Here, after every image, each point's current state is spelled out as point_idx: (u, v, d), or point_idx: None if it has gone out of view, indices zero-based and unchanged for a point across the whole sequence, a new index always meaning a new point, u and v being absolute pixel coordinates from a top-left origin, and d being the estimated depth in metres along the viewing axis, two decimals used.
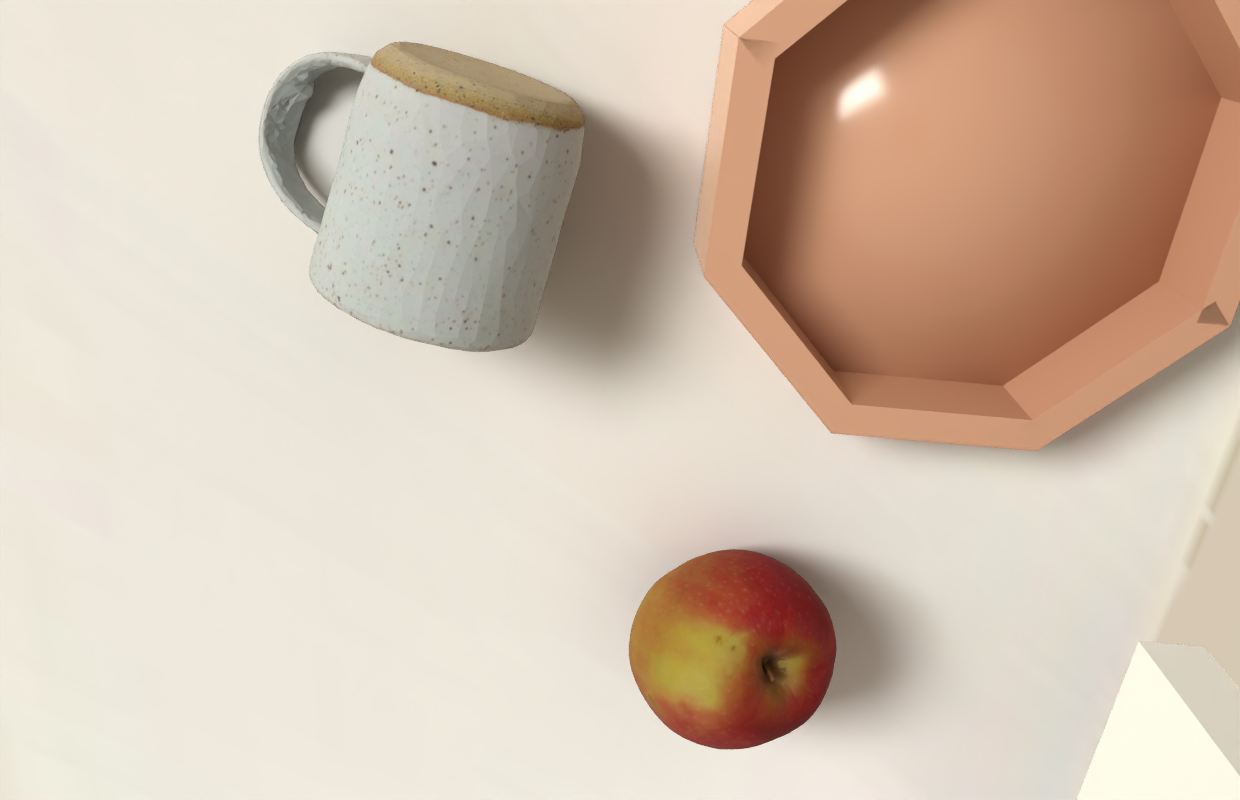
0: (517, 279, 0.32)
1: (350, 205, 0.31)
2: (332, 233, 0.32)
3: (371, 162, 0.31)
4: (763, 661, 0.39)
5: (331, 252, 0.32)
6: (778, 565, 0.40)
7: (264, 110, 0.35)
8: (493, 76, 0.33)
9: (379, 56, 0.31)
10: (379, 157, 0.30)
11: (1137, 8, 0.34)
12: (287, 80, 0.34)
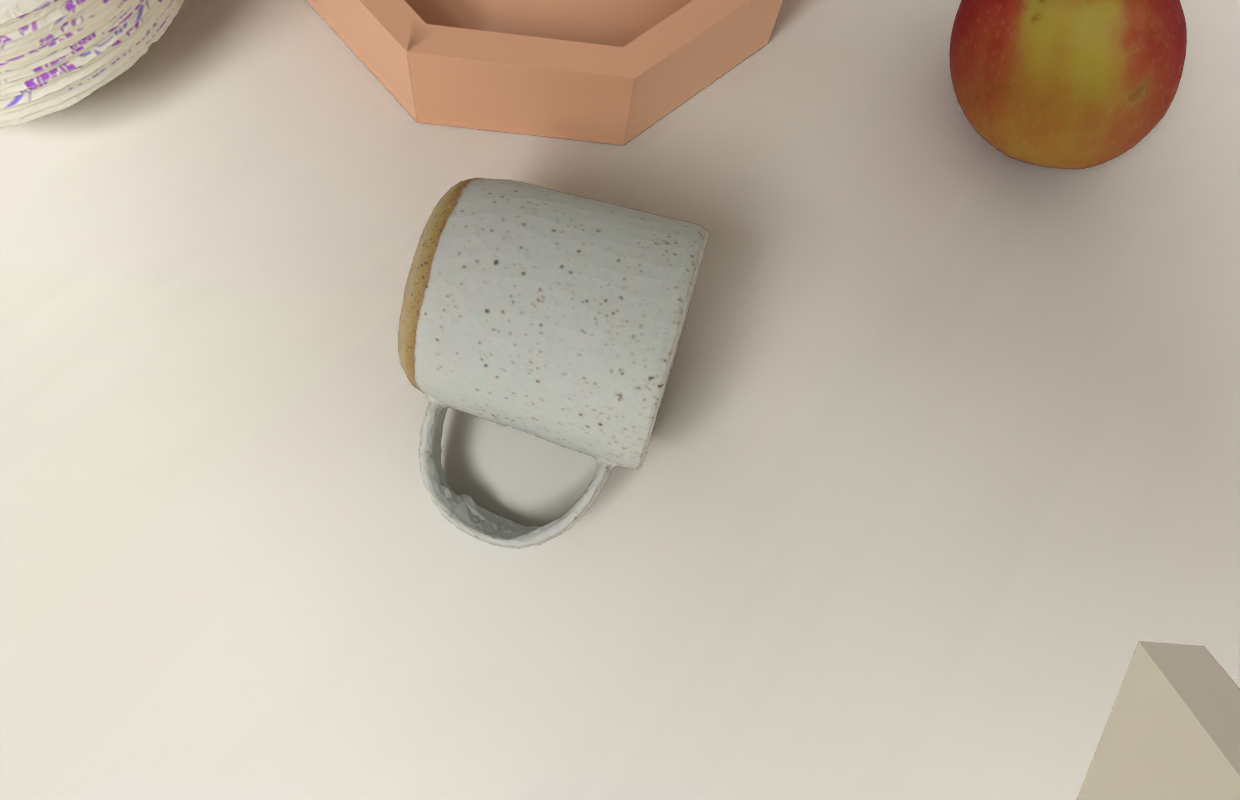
0: (626, 211, 0.31)
1: (549, 369, 0.29)
2: (584, 396, 0.29)
3: (500, 338, 0.29)
4: None
5: (603, 395, 0.29)
6: (955, 18, 0.38)
7: (481, 537, 0.32)
8: None
9: (405, 355, 0.30)
10: (494, 328, 0.29)
11: None
12: (450, 508, 0.32)
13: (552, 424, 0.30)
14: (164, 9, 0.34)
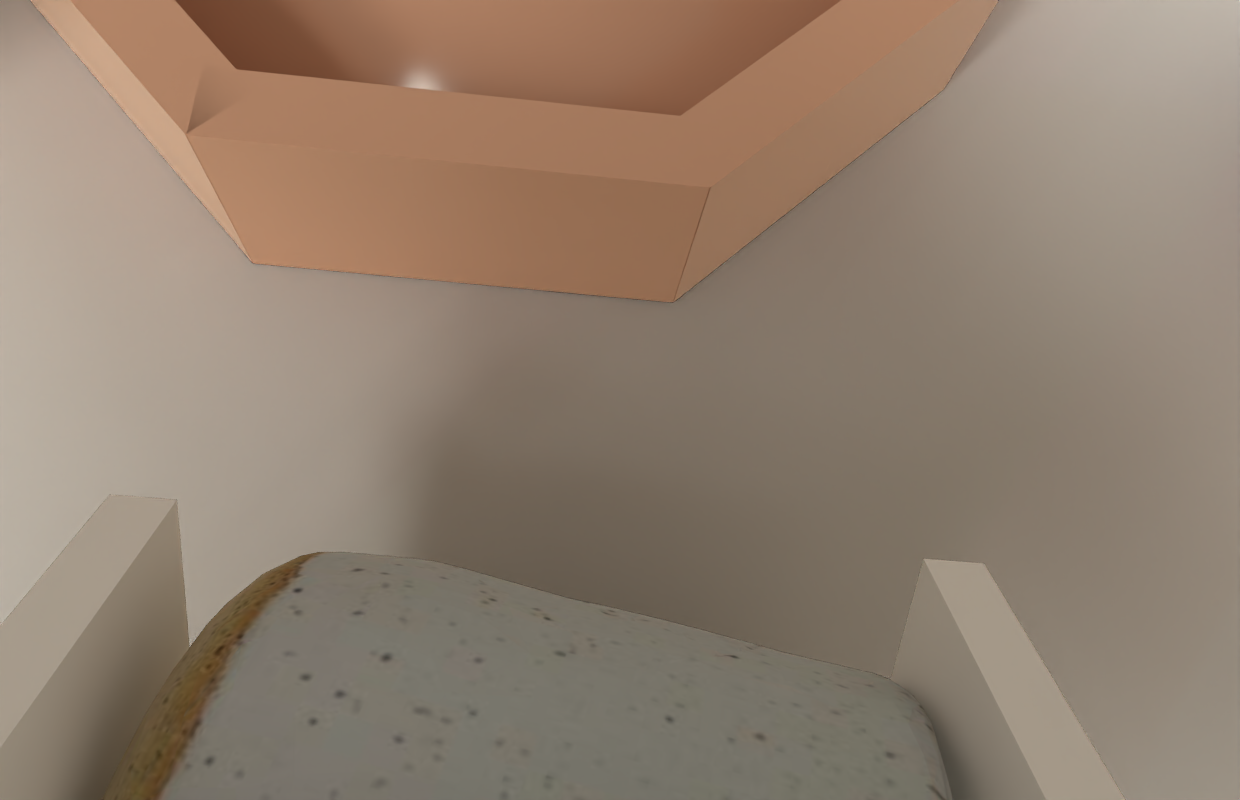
0: (709, 697, 0.11)
1: None
2: None
3: None
4: None
5: None
6: None
7: None
8: None
9: None
10: None
11: None
12: None
13: None
14: None
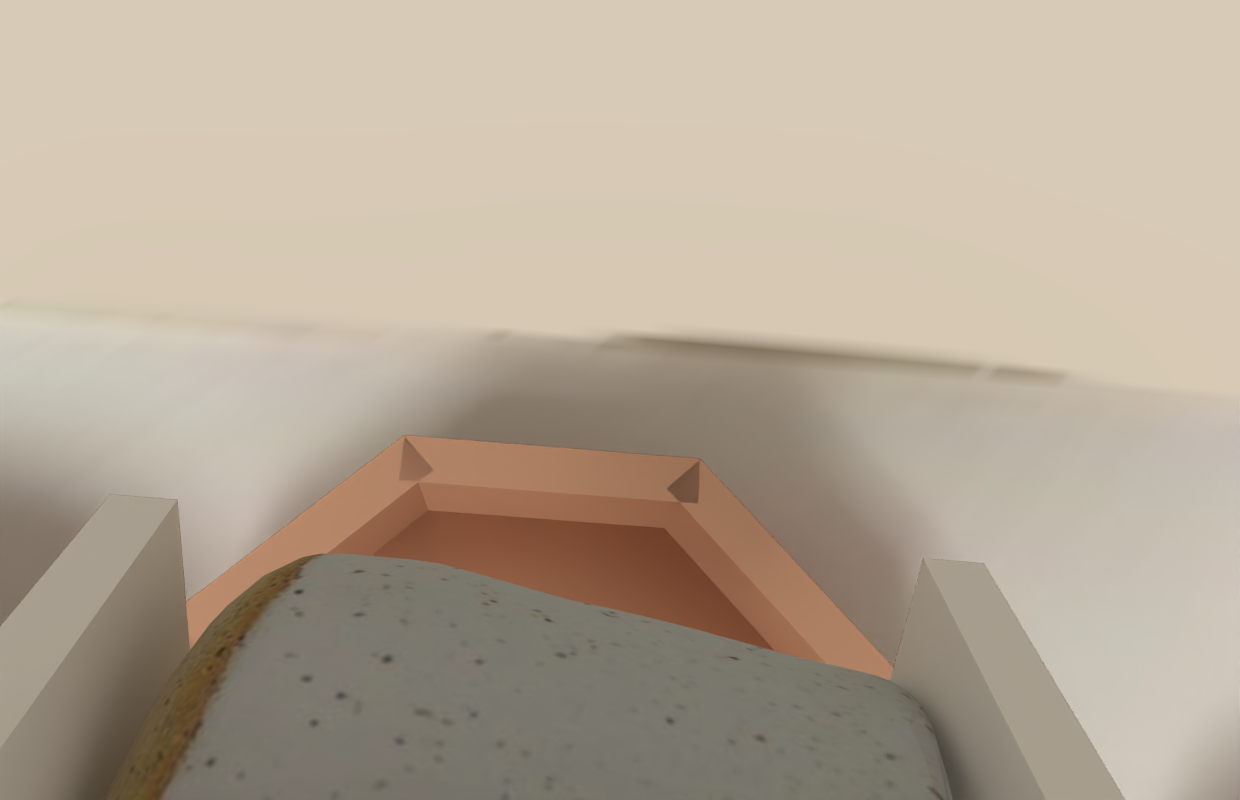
0: (709, 699, 0.11)
1: None
2: None
3: None
4: None
5: None
6: None
7: None
8: None
9: None
10: None
11: None
12: None
13: None
14: None
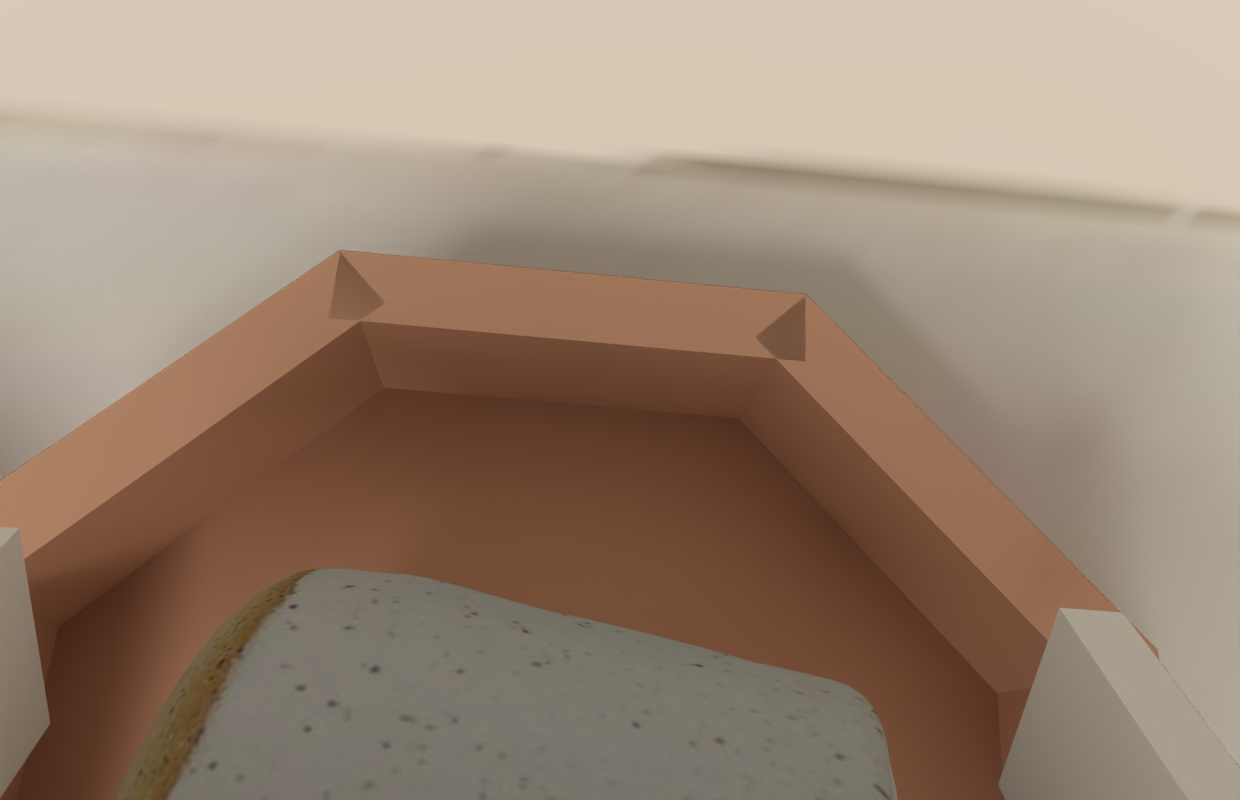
0: (674, 704, 0.11)
1: None
2: None
3: None
4: None
5: None
6: None
7: None
8: None
9: None
10: None
11: (205, 583, 0.18)
12: None
13: None
14: None
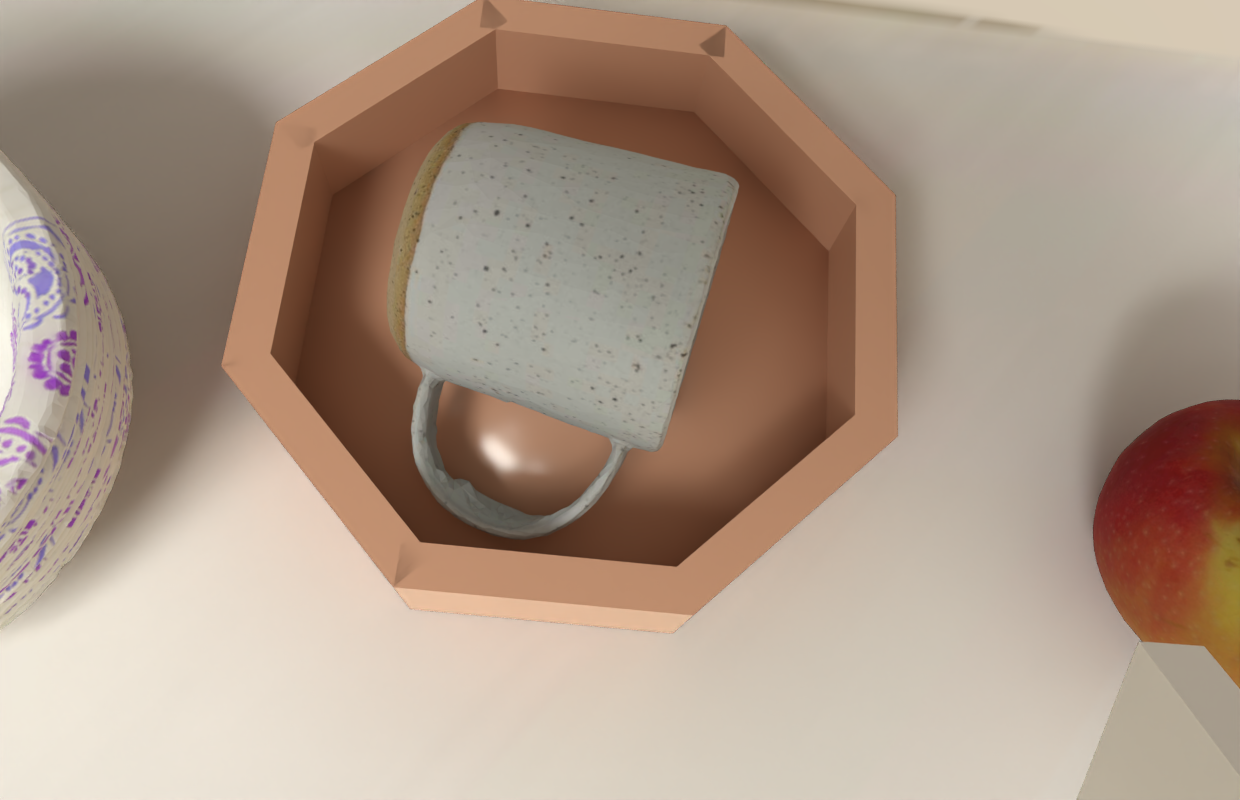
0: (645, 158, 0.27)
1: (557, 335, 0.25)
2: (596, 367, 0.25)
3: (502, 300, 0.25)
4: None
5: (618, 365, 0.25)
6: (1104, 490, 0.29)
7: (480, 526, 0.28)
8: None
9: (394, 320, 0.27)
10: (495, 288, 0.25)
11: (406, 178, 0.33)
12: (445, 494, 0.29)
13: (560, 399, 0.27)
14: (78, 529, 0.26)
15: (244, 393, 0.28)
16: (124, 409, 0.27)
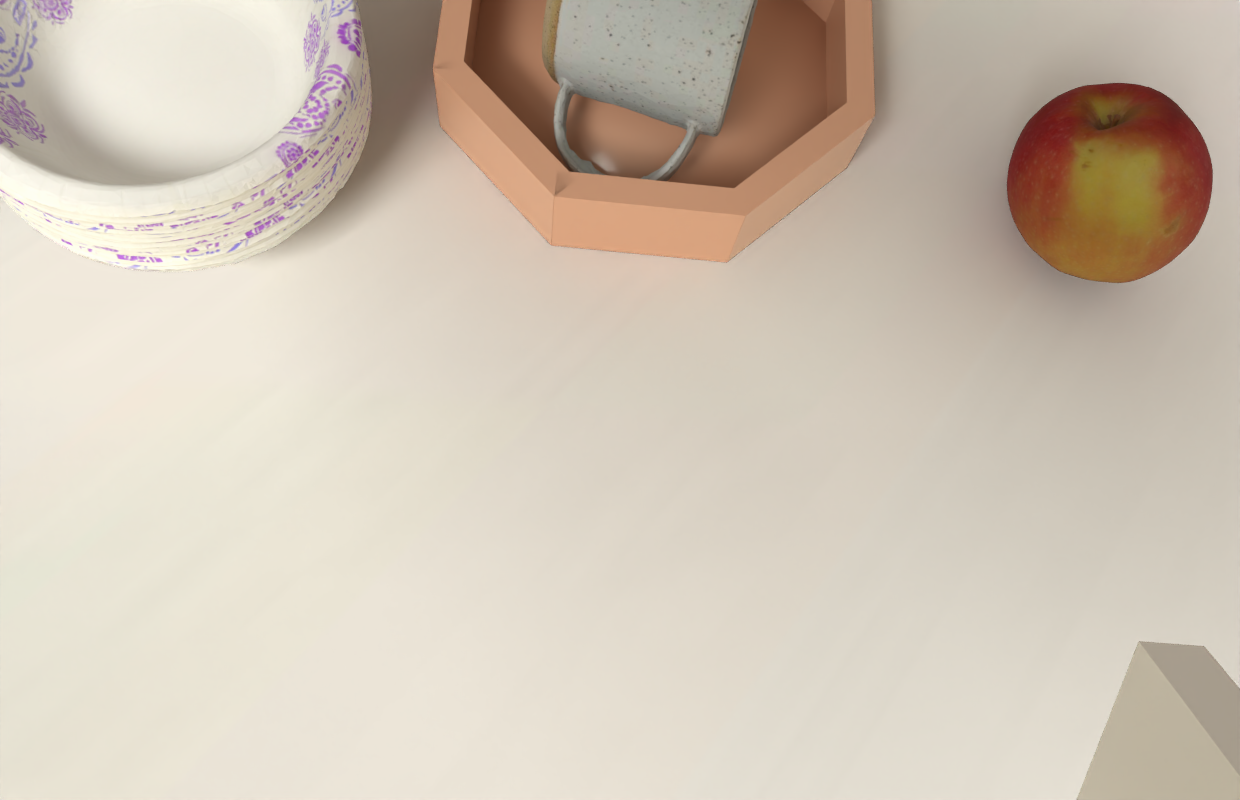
0: None
1: (658, 34, 0.40)
2: (682, 55, 0.40)
3: (622, 11, 0.40)
4: None
5: (697, 52, 0.40)
6: (1012, 153, 0.44)
7: None
8: None
9: (549, 36, 0.41)
10: (618, 3, 0.40)
11: None
12: (576, 163, 0.43)
13: (657, 85, 0.41)
14: (350, 163, 0.41)
15: (449, 84, 0.42)
16: (370, 96, 0.42)
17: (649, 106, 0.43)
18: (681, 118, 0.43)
